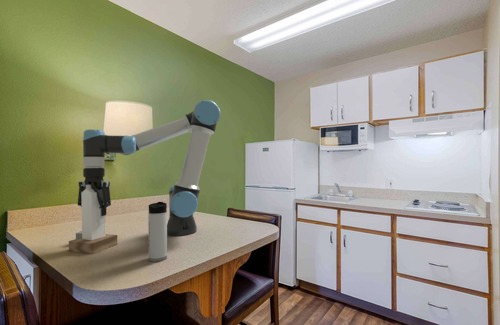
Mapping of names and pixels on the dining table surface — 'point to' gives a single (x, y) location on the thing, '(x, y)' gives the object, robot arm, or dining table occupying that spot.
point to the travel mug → (157, 231)
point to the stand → (92, 244)
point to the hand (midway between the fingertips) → (94, 223)
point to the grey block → (79, 235)
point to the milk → (91, 215)
